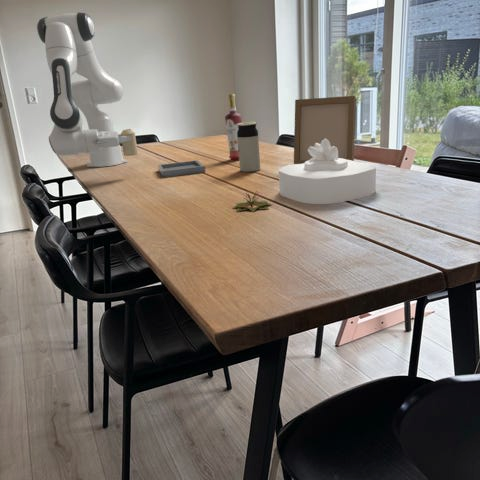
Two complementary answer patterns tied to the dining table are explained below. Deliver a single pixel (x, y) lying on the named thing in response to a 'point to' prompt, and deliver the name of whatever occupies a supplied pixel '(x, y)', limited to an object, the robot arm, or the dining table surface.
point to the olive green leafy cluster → (249, 203)
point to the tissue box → (327, 177)
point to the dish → (181, 168)
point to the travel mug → (248, 147)
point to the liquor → (233, 128)
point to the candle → (129, 143)
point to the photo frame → (324, 126)
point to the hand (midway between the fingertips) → (130, 137)
